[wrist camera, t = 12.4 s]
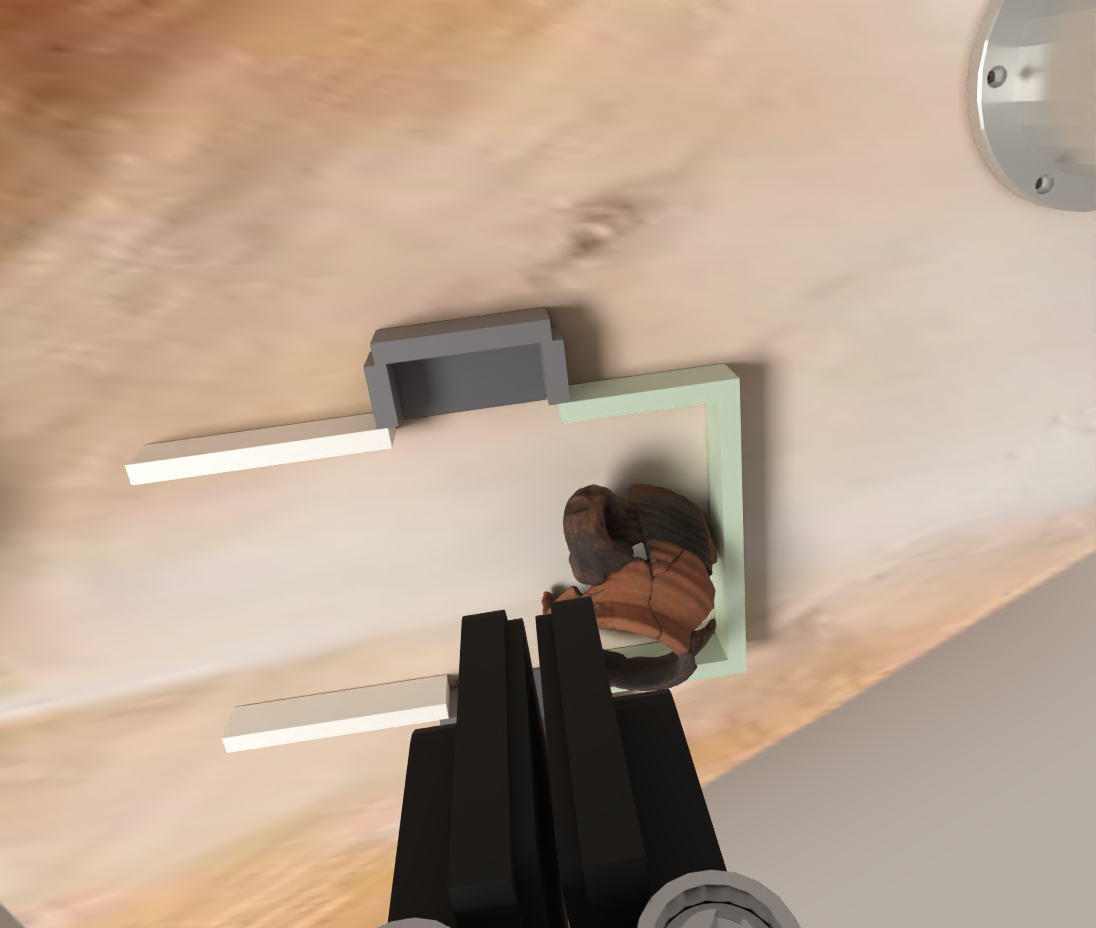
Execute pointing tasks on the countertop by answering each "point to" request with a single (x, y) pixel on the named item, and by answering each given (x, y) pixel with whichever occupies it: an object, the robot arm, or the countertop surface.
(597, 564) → the pottery mug
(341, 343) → the countertop surface
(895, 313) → the countertop surface
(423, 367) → the pale green flat frame
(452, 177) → the countertop surface
